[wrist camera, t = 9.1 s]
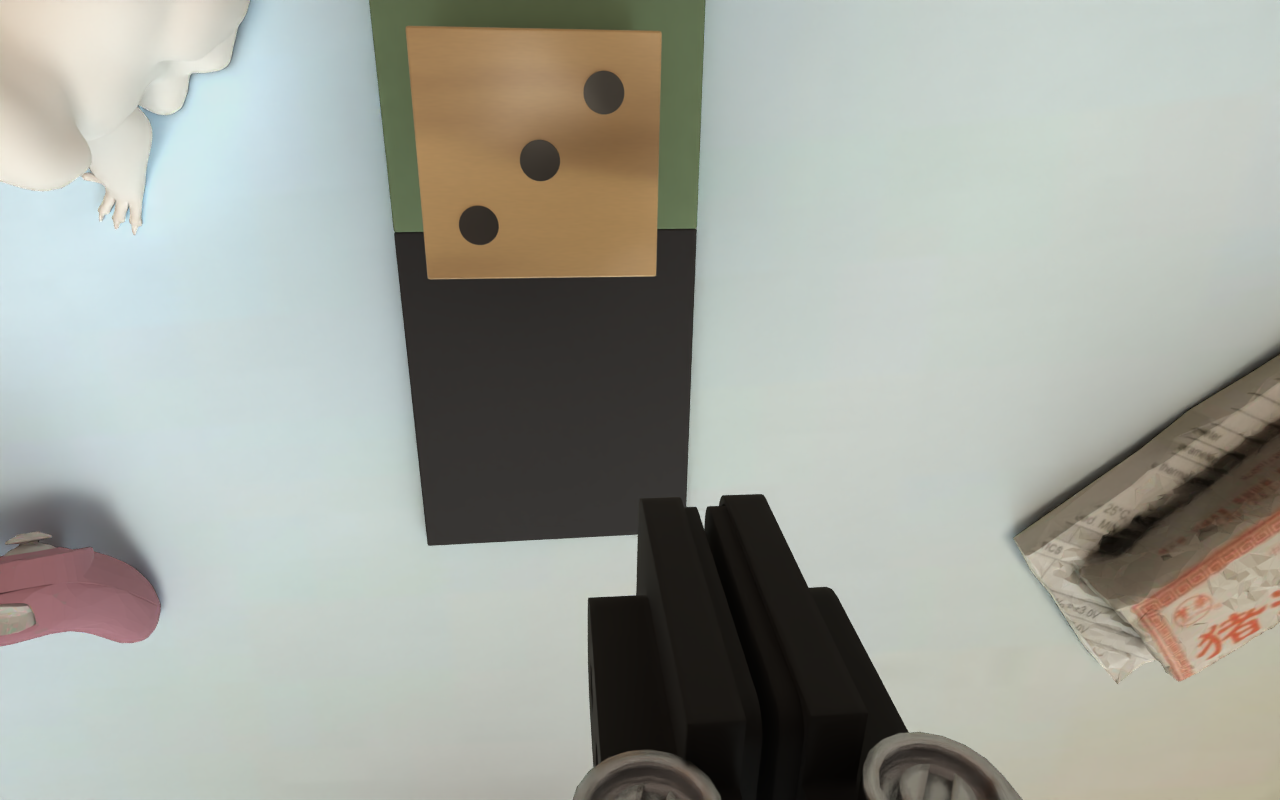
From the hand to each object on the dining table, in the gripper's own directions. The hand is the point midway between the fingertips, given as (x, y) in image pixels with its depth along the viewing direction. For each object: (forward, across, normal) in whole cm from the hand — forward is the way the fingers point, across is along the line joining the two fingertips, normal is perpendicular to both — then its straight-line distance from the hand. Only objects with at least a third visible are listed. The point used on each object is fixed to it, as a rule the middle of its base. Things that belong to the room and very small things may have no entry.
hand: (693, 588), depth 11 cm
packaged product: (+19, -27, +10) cm, 35 cm away
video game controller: (+18, +22, +12) cm, 31 cm away
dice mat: (+18, +2, +1) cm, 19 cm away
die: (+15, +2, -1) cm, 15 cm away
